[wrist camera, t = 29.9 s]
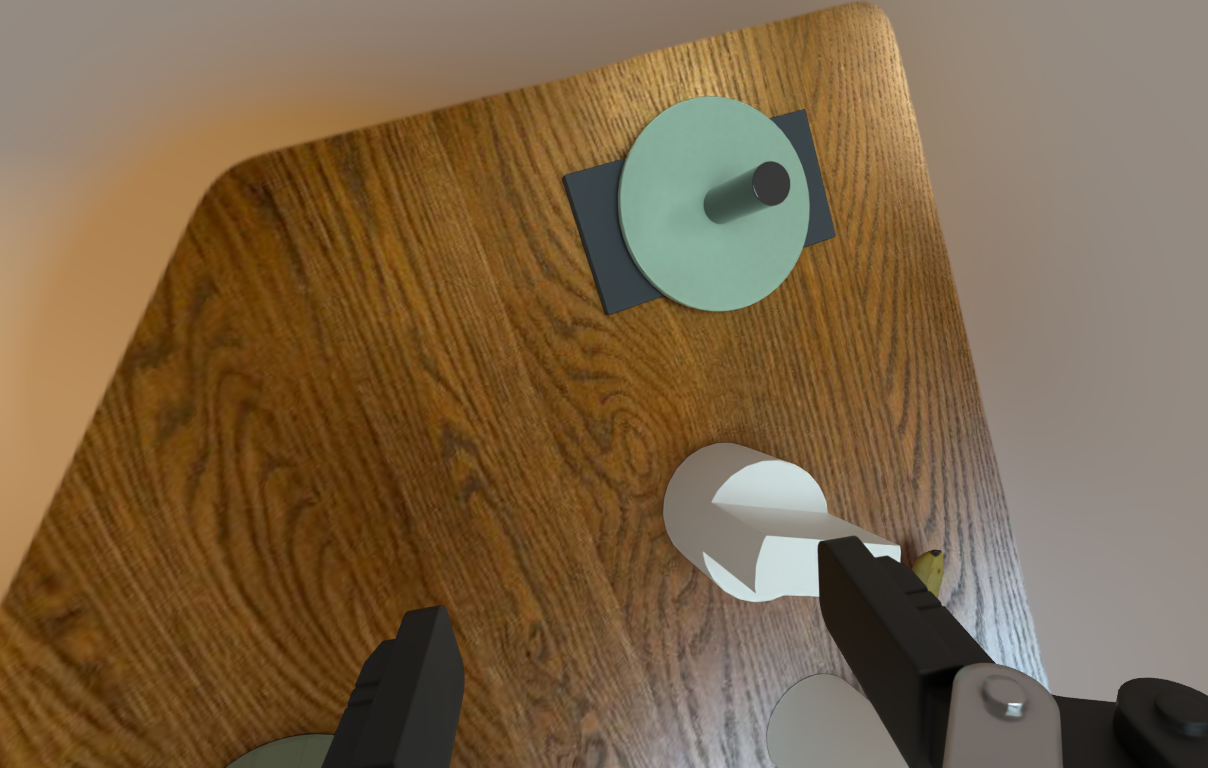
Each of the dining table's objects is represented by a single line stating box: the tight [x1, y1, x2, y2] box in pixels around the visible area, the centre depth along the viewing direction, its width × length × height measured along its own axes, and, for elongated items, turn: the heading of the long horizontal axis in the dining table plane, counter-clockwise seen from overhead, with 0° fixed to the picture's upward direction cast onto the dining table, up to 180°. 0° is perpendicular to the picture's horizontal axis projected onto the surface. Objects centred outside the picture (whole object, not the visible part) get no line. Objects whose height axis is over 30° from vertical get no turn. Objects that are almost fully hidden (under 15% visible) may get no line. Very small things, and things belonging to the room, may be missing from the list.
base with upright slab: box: [663, 443, 901, 602], centre depth 36 cm, size 9×9×12 cm
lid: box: [618, 96, 810, 312], centre depth 36 cm, size 14×14×7 cm
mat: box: [562, 109, 836, 315], centre depth 39 cm, size 18×9×1 cm, turn 109°
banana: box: [912, 550, 944, 599], centre depth 46 cm, size 10×2×4 cm, turn 13°
